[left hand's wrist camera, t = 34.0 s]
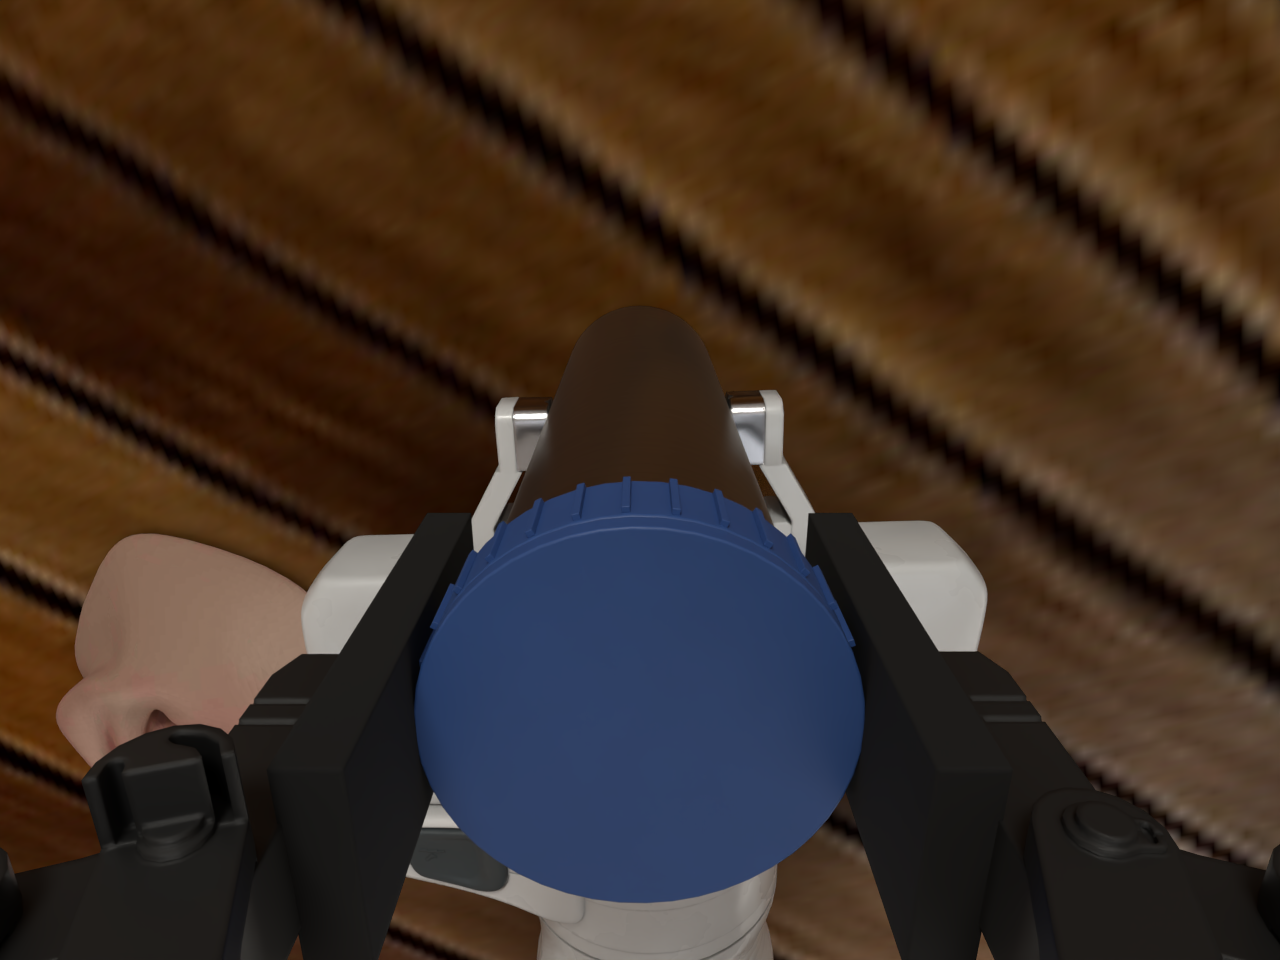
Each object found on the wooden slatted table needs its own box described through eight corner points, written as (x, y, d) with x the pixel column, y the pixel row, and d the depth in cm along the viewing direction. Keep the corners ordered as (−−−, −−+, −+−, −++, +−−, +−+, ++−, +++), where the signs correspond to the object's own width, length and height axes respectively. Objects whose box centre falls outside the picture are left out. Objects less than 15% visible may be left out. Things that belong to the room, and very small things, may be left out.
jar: (723, 316, 29) (860, 548, 11) (699, 455, 30) (783, 851, 13) (576, 296, 28) (467, 499, 11) (560, 437, 30) (446, 816, 12)
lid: (672, 385, 11) (677, 420, 9) (921, 689, 12) (960, 761, 11) (350, 639, 12) (308, 705, 10) (614, 883, 14) (610, 971, 12)
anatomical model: (-24, 571, 27) (324, 598, 28) (56, 524, 31) (361, 548, 31) (42, 876, 32) (339, 896, 32) (104, 803, 36) (370, 821, 36)
